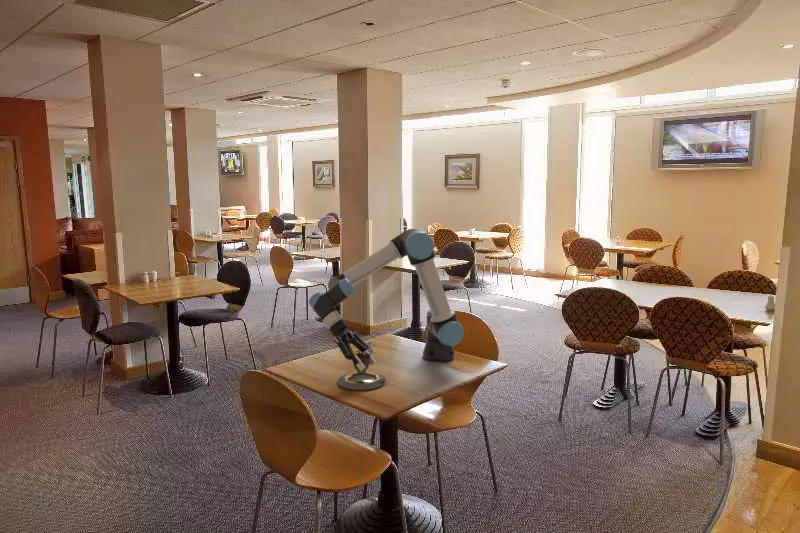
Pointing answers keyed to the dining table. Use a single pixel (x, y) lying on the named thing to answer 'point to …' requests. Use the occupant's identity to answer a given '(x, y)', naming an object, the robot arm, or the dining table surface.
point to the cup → (365, 360)
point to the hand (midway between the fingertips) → (368, 366)
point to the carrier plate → (361, 381)
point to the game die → (370, 347)
